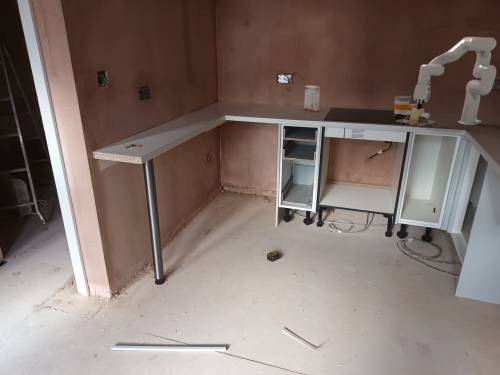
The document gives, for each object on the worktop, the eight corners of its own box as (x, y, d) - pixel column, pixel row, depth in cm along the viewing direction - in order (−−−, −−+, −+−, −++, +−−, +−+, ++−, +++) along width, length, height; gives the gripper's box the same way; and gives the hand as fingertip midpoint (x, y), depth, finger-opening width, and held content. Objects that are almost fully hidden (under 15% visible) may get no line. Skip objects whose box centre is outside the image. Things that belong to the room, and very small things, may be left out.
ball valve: (429, 122, 280) (431, 110, 277) (424, 123, 277) (426, 111, 274) (407, 118, 294) (409, 106, 290) (403, 119, 291) (404, 107, 287)
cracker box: (319, 111, 333) (320, 86, 325) (313, 111, 330) (315, 87, 322) (309, 108, 344) (310, 85, 336) (303, 109, 341) (304, 85, 333)
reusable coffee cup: (401, 116, 307) (404, 98, 301) (389, 114, 317) (391, 96, 311) (411, 115, 312) (414, 96, 307) (399, 112, 322) (401, 95, 317)
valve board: (435, 123, 284) (436, 117, 282) (420, 127, 273) (421, 120, 271) (411, 119, 299) (412, 113, 297) (396, 122, 288) (397, 116, 286)
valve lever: (416, 108, 283) (417, 102, 282) (420, 108, 281) (421, 103, 280) (408, 109, 278) (409, 104, 276) (411, 110, 275) (412, 105, 274)
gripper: (436, 83, 262) (431, 110, 269) (416, 81, 273) (412, 107, 280) (430, 84, 258) (426, 111, 265) (410, 82, 269) (406, 108, 276)
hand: (419, 109), depth 272 cm, fingers closed
